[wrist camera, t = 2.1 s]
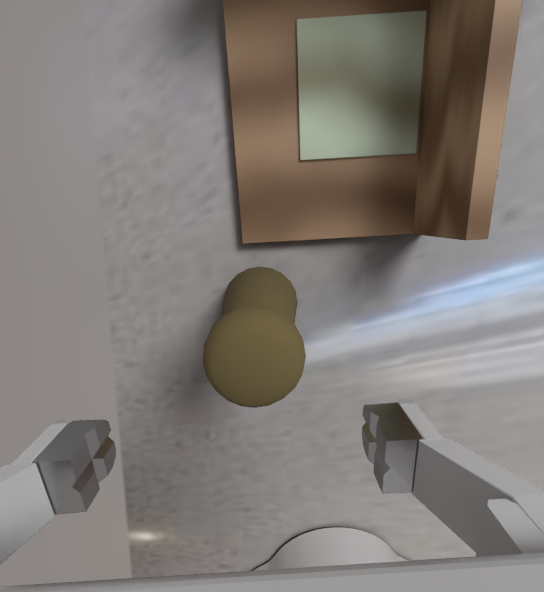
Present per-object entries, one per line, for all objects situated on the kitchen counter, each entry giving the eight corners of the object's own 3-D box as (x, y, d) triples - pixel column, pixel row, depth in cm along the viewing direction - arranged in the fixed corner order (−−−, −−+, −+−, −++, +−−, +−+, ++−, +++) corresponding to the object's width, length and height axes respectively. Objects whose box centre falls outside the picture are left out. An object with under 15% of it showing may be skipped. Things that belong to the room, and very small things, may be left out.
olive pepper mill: (216, 325, 24) (174, 411, 14) (234, 257, 23) (203, 293, 12) (284, 344, 25) (295, 441, 14) (306, 279, 23) (337, 331, 13)
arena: (423, 232, 22) (487, 239, 16) (243, 242, 22) (232, 253, 16) (449, -71, 17) (557, -246, 11) (219, -55, 18) (188, -218, 11)
